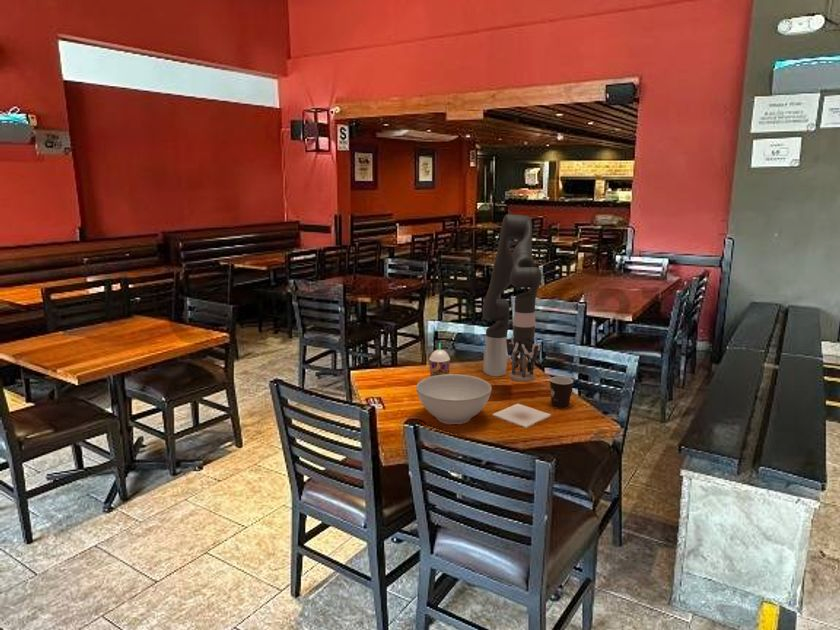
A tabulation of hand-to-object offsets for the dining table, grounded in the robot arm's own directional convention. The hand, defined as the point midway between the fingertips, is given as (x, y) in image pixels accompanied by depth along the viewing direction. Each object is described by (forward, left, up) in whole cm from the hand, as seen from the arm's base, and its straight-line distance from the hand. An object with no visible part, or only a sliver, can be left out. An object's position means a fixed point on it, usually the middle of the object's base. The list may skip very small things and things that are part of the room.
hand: (522, 369), depth 212 cm
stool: (0, 0, -3) cm, 3 cm away
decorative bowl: (-16, -19, -18) cm, 30 cm away
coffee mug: (+3, +20, -18) cm, 27 cm away
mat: (0, 0, -18) cm, 18 cm away
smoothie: (-39, -3, -18) cm, 43 cm away
